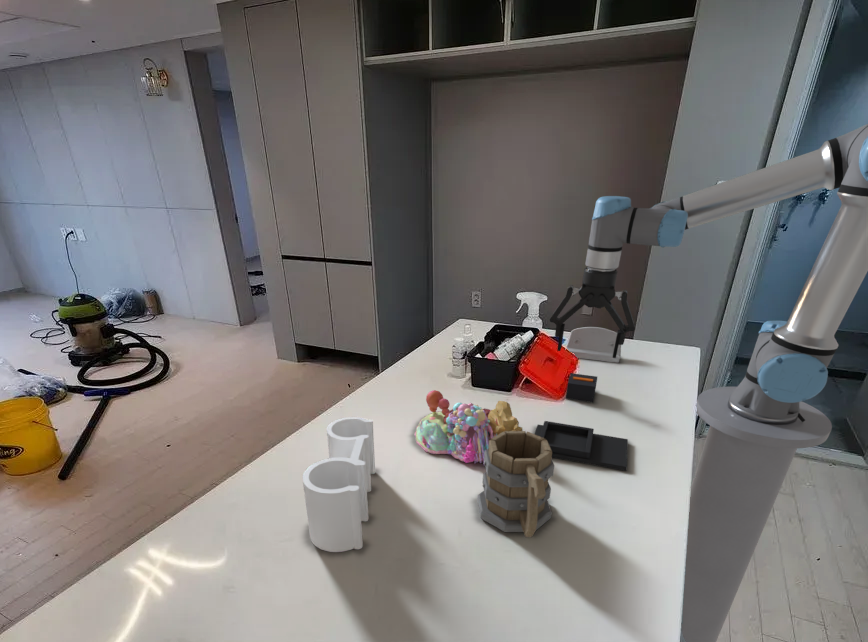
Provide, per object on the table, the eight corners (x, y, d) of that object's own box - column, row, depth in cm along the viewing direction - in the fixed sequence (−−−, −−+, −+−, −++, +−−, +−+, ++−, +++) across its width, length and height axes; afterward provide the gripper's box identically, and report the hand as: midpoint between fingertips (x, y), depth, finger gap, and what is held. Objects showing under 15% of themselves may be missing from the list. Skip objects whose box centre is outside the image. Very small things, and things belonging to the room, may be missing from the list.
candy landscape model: (513, 412, 127) (516, 379, 123) (534, 464, 107) (539, 426, 102) (413, 414, 127) (413, 380, 122) (415, 467, 106) (415, 428, 102)
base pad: (626, 442, 114) (629, 433, 113) (626, 471, 105) (628, 460, 103) (537, 427, 121) (538, 418, 119) (528, 453, 111) (529, 443, 109)
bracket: (333, 467, 106) (328, 416, 100) (379, 468, 106) (377, 417, 100) (303, 551, 84) (294, 492, 79) (361, 553, 84) (357, 493, 78)
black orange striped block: (594, 391, 138) (597, 375, 136) (593, 402, 132) (596, 385, 130) (568, 388, 140) (570, 372, 138) (565, 398, 134) (568, 381, 132)
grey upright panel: (563, 356, 160) (569, 324, 159) (564, 356, 165) (569, 324, 163) (620, 362, 155) (626, 329, 154) (619, 362, 160) (625, 330, 158)
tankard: (475, 489, 99) (479, 422, 92) (539, 489, 99) (549, 421, 92) (488, 563, 82) (495, 487, 74) (567, 563, 82) (581, 487, 74)
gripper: (657, 269, 119) (638, 354, 129) (549, 260, 127) (539, 341, 137) (659, 275, 113) (638, 364, 123) (545, 267, 121) (535, 351, 131)
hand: (586, 352), depth 130 cm, fingers open, 13 cm apart
